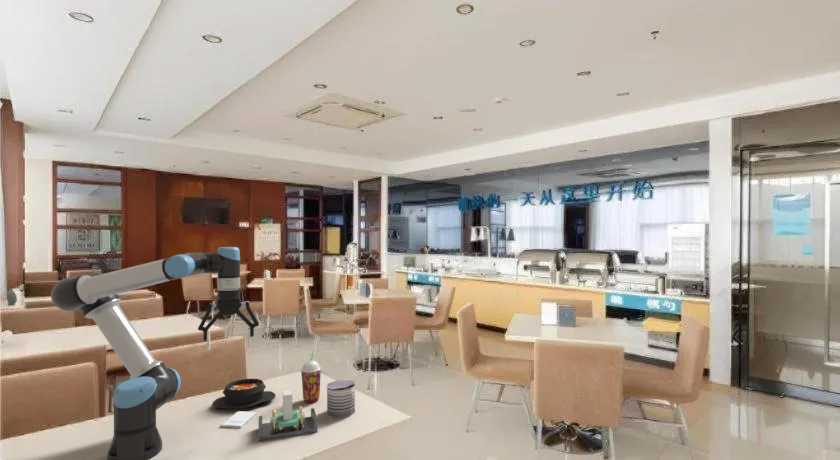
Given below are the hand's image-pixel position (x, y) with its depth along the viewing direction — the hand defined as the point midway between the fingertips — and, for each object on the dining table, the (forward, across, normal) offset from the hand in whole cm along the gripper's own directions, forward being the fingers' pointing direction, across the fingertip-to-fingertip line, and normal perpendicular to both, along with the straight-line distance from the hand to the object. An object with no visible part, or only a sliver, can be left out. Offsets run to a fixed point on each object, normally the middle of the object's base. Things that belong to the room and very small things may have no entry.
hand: (229, 347), depth 157 cm
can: (+31, +41, +3) cm, 51 cm away
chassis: (+31, +20, -6) cm, 37 cm away
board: (+27, +20, -6) cm, 34 cm away
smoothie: (+31, +31, +20) cm, 48 cm away
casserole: (+31, +4, +27) cm, 41 cm away
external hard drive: (+31, +3, +9) cm, 33 cm away
